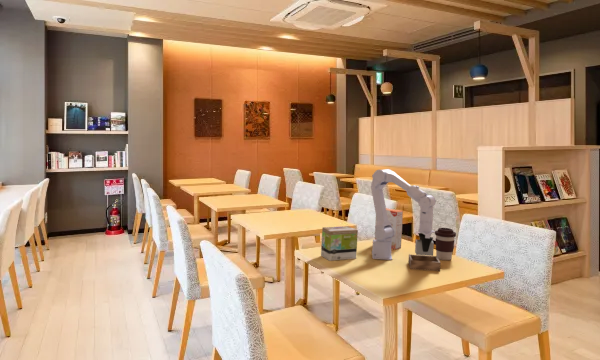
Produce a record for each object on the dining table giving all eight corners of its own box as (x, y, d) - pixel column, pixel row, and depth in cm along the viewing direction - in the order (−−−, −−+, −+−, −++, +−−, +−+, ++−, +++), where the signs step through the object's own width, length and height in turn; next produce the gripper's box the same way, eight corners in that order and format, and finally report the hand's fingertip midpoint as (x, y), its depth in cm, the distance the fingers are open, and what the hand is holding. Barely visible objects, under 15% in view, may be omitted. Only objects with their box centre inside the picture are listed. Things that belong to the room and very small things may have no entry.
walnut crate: (410, 269, 189) (411, 260, 189) (408, 262, 199) (408, 254, 199) (439, 271, 187) (440, 262, 187) (436, 264, 197) (436, 256, 197)
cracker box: (373, 244, 232) (375, 207, 230) (380, 243, 236) (381, 206, 234) (395, 250, 222) (396, 211, 220) (401, 248, 226) (403, 210, 224)
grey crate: (416, 254, 191) (416, 241, 190) (415, 251, 196) (415, 239, 195) (433, 255, 190) (433, 242, 189) (431, 252, 194) (432, 240, 194)
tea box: (329, 261, 198) (330, 231, 196) (320, 256, 207) (321, 227, 206) (357, 258, 204) (358, 229, 202) (346, 253, 213) (347, 225, 212)
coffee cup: (455, 262, 202) (457, 231, 201) (434, 260, 204) (436, 230, 203) (452, 256, 212) (454, 227, 210) (432, 255, 214) (434, 226, 212)
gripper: (437, 224, 183) (436, 254, 185) (432, 218, 198) (431, 246, 199) (421, 223, 184) (419, 253, 186) (417, 218, 199) (416, 245, 200)
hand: (424, 250), depth 192 cm, fingers closed on grey crate, 5 cm apart
